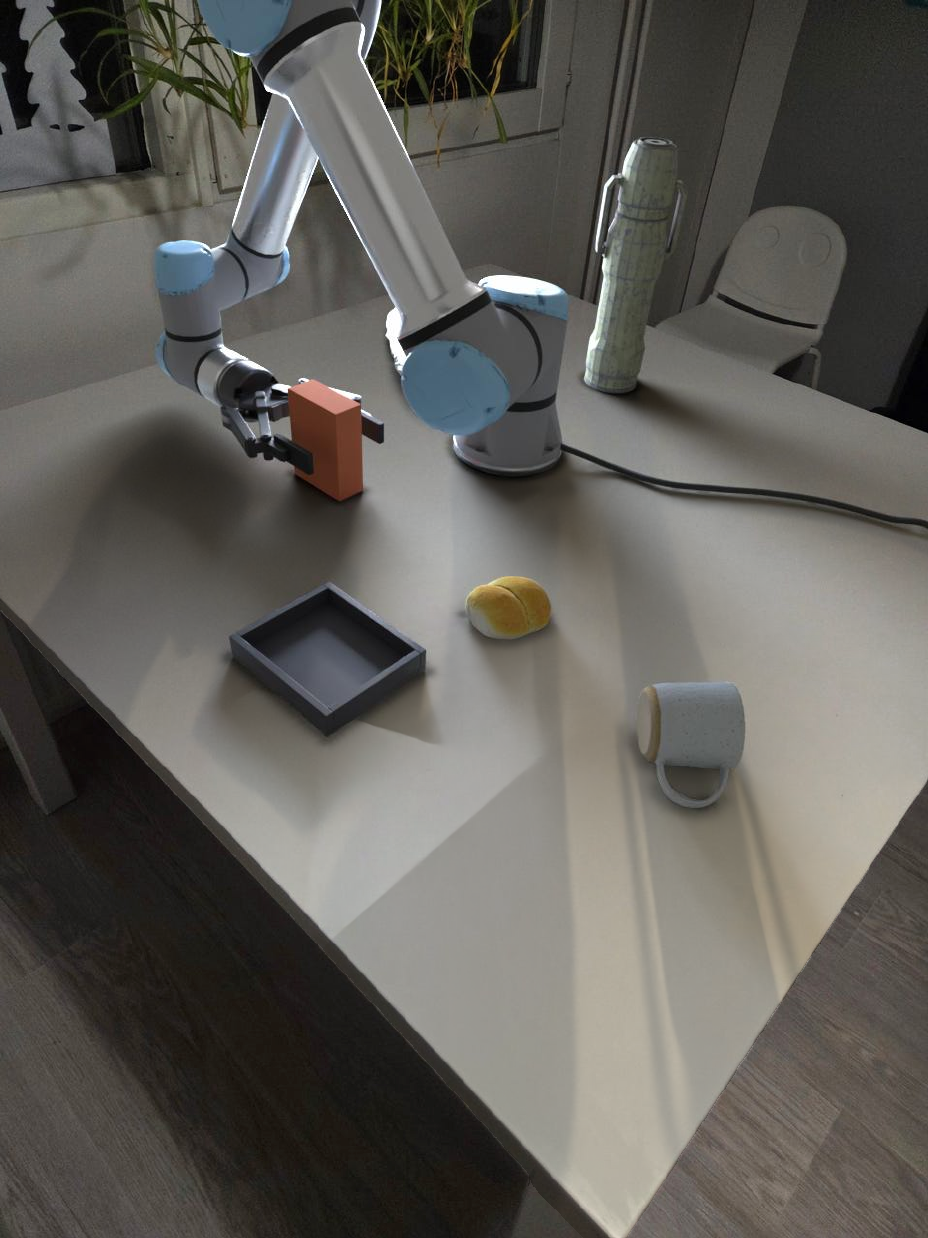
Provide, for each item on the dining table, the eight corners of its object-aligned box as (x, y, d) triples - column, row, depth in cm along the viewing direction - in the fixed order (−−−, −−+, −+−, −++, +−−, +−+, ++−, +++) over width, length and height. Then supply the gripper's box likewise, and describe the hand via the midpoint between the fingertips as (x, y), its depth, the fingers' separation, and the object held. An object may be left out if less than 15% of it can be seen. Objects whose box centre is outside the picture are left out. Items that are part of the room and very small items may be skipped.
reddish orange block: (318, 463, 110) (312, 378, 103) (363, 490, 106) (361, 404, 98) (294, 473, 108) (287, 387, 100) (339, 501, 104) (335, 414, 96)
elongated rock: (431, 325, 152) (378, 329, 150) (431, 296, 149) (376, 300, 147) (470, 403, 125) (405, 408, 124) (470, 369, 122) (404, 374, 120)
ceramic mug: (628, 718, 79) (644, 661, 73) (712, 721, 79) (734, 665, 74) (647, 812, 71) (667, 756, 66) (740, 815, 71) (768, 759, 66)
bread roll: (563, 624, 89) (569, 595, 86) (495, 652, 85) (499, 623, 82) (518, 582, 94) (522, 553, 91) (452, 606, 90) (454, 577, 87)
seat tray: (330, 601, 89) (329, 581, 87) (425, 670, 82) (426, 649, 80) (232, 656, 82) (228, 635, 80) (327, 737, 75) (326, 716, 73)
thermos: (652, 393, 133) (708, 150, 110) (581, 393, 132) (623, 146, 109) (637, 370, 140) (687, 135, 117) (569, 369, 138) (606, 131, 115)
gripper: (309, 388, 121) (414, 444, 110) (168, 439, 107) (273, 509, 97) (305, 338, 116) (415, 392, 105) (158, 385, 102) (267, 452, 92)
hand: (347, 448), depth 101 cm, fingers open, 11 cm apart
